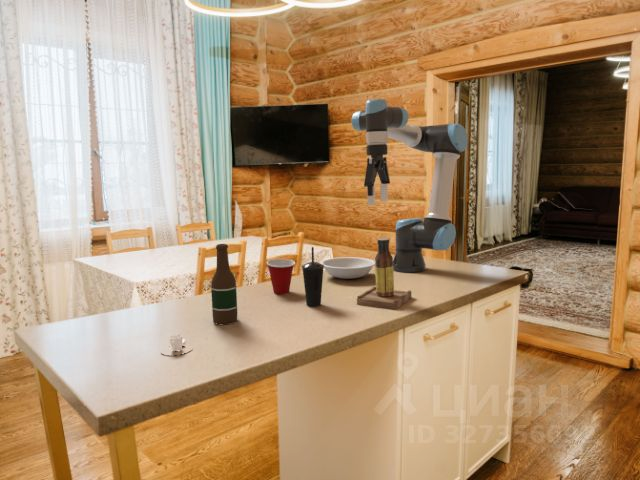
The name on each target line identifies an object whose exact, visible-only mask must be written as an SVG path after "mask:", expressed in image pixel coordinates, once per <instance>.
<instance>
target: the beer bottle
mask: <svg viewBox="0 0 640 480" xmlns="http://www.w3.org/2000/svg"><path fill="white" fill-rule="evenodd" d="M228 248H229V245H228V244H226V243H218V244H216V246H215V250H216V269H215V270H216V271H215V272H214V274H213V276H212V278H211V279H212V280H211V281H210V283H211V285H210V289H211V291H210V293H211V308H212V309H211V310H212V323H213V324H216V323H217V325H219V324H227V325H231V324H230V323H232V324H235V323H237V321H238V296H237V295H238V294H237V293H238V292H237V282H236V281H237V279H236V277H235V275H234V273H233V272H232V271H231V267H230V263H229V253H228ZM234 322H235V323H234Z"/></svg>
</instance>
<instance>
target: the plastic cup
mask: <svg viewBox="0 0 640 480" xmlns="http://www.w3.org/2000/svg"><path fill="white" fill-rule="evenodd" d="M266 265H267V268H268V271H269V276H270V282H271V286H272V291H273V293H274V294H276V295H286V294H289V292H290V289H291V282H292V277H293V276H292V275H293V270H294V266H295V265H296V261H294V260H292V259H287V258H273V259H269V260H267V261H266Z"/></svg>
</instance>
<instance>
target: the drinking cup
mask: <svg viewBox="0 0 640 480" xmlns="http://www.w3.org/2000/svg"><path fill="white" fill-rule="evenodd" d="M314 251H315V250H314V246H311V261H310V262H306V263H305V264H302V265H301V269H302V274H303V284H304V295H305V301H306V304H305V305H306V306H307V307H309V308H314V307H315V308H317V307H320V306H321V303H322V292H323V290H322V289H323V279H324V278H323V277H324V269H325V268H324V265H323V264H320V262H316V261H315V256H314V255H315V252H314Z"/></svg>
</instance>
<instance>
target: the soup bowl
mask: <svg viewBox="0 0 640 480" xmlns="http://www.w3.org/2000/svg"><path fill="white" fill-rule="evenodd" d="M319 263H320V264H323V265H324V268H323V269H324V270H325V271H326V272H327V274H329V275H330V276H332V277H334V278H337V279H344V280H345V279H346V280H347V279H349V280H351V279H358V278H362V277H364V276H366V275H367V274H369V273H370V272H371V270H372V269H373V267H375V260H373V259H371V258H366V257H356V256H353V257H352V256H346V257H345V256H342V257H341V256H339V257H331V258H327V259H323V260H320V261H319Z"/></svg>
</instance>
